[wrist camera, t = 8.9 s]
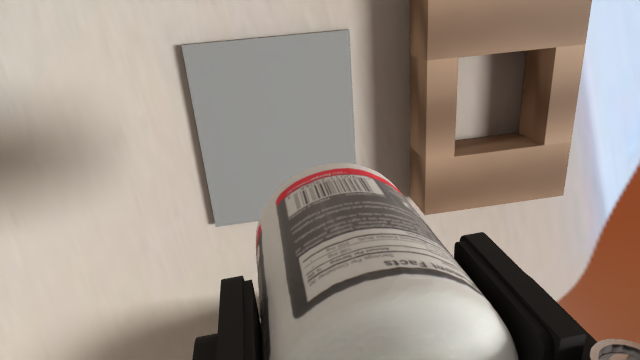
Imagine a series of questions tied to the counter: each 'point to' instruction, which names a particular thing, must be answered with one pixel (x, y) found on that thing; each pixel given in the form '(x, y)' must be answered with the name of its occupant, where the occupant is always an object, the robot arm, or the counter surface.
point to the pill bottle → (364, 277)
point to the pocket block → (536, 109)
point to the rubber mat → (269, 114)
